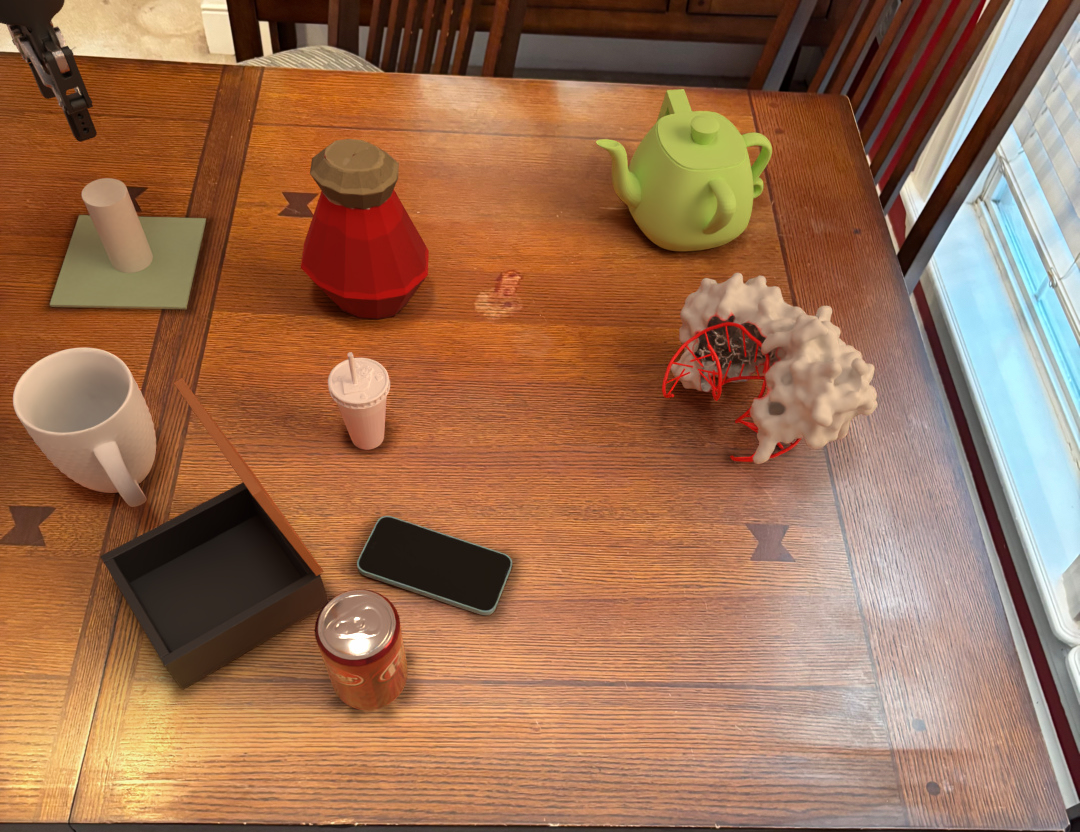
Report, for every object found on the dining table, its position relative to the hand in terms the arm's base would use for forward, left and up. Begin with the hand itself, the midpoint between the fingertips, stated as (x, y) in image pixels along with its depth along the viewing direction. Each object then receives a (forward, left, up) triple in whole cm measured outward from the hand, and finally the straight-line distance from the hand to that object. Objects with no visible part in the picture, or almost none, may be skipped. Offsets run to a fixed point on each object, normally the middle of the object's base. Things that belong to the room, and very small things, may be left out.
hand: (70, 116), depth 96 cm
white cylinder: (0, 0, -20) cm, 20 cm away
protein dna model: (+75, -24, -20) cm, 81 cm away
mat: (0, 0, -20) cm, 20 cm away
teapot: (+70, +11, -20) cm, 74 cm away
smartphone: (+39, -44, -20) cm, 62 cm away
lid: (+23, -44, -6) cm, 50 cm away
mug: (+5, -33, -20) cm, 39 cm away
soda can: (+33, -56, -20) cm, 68 cm away
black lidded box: (+18, -47, -20) cm, 54 cm away
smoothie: (+31, -27, -20) cm, 46 cm away
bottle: (+30, -5, -20) cm, 37 cm away
